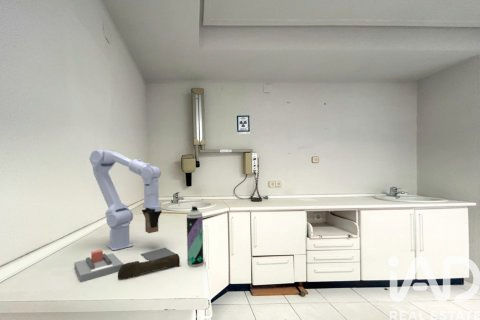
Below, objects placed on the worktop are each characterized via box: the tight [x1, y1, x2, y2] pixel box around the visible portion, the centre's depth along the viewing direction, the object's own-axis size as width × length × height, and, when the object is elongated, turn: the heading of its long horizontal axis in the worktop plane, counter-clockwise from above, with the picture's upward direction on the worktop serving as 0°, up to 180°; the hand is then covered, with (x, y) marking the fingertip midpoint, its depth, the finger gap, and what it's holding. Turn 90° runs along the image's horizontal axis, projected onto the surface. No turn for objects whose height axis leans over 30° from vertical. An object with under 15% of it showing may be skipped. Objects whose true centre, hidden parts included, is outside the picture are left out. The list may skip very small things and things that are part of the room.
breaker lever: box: [90, 249, 104, 263], centre depth 81 cm, size 2×3×3 cm
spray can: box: [186, 205, 204, 268], centre depth 82 cm, size 6×6×20 cm
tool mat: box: [140, 247, 177, 261], centre depth 91 cm, size 10×10×1 cm
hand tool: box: [117, 253, 181, 280], centre depth 77 cm, size 19×4×5 cm, turn 121°
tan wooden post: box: [144, 212, 159, 234], centre depth 99 cm, size 4×4×8 cm
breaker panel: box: [73, 252, 124, 283], centre depth 79 cm, size 14×12×3 cm
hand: (151, 226), depth 99 cm, fingers closed on tan wooden post, 4 cm apart
